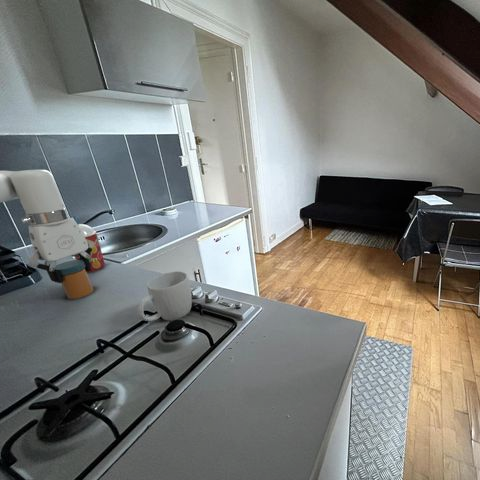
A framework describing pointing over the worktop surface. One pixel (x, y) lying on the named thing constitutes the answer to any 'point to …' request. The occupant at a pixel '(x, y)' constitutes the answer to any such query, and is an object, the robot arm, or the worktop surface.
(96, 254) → the smoothie
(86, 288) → the jam jar
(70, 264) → the jar lid
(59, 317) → the worktop surface
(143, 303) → the mug
